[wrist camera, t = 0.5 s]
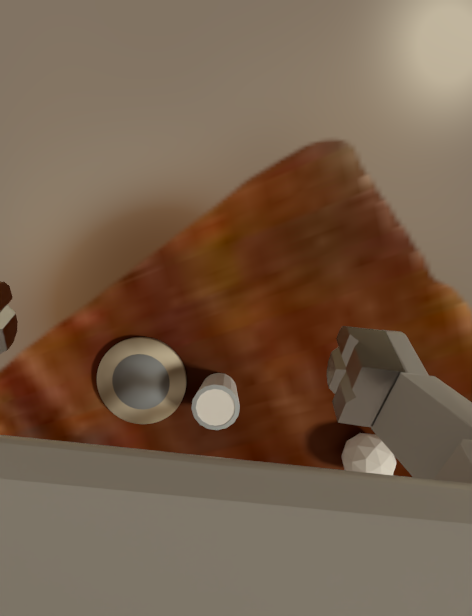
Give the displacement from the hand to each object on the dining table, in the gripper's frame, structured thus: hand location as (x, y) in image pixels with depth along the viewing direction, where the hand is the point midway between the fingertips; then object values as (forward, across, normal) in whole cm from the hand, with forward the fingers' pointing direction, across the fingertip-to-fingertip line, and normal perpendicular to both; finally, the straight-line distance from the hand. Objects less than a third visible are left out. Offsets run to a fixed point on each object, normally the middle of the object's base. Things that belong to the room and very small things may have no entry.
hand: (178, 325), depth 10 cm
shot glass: (+36, +4, -40) cm, 54 cm away
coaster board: (+37, -8, -40) cm, 55 cm away
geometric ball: (+32, +28, -45) cm, 62 cm away
